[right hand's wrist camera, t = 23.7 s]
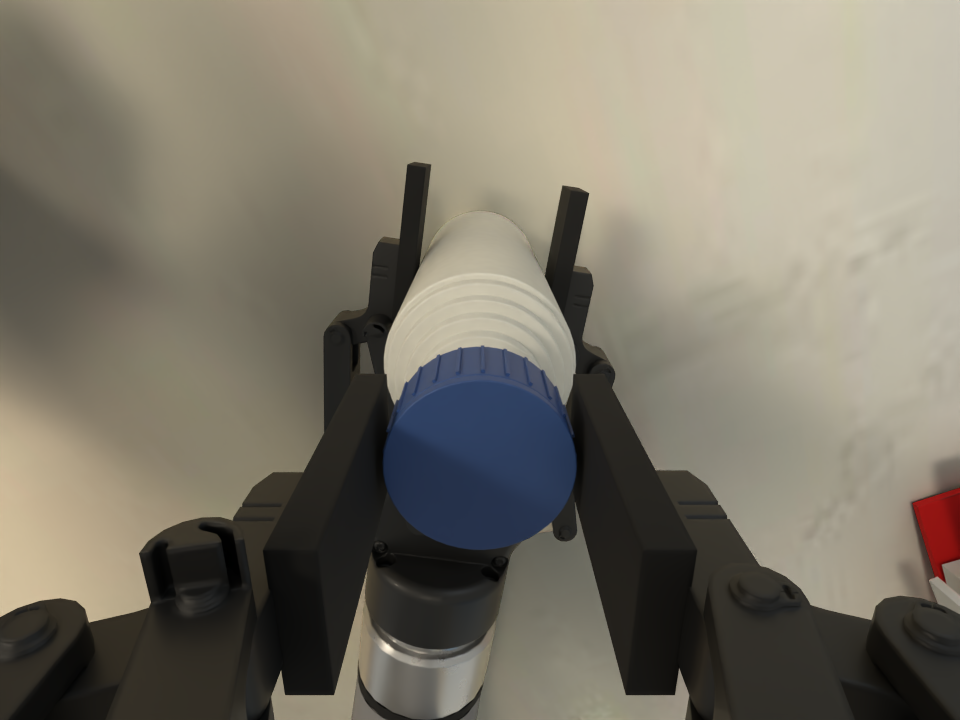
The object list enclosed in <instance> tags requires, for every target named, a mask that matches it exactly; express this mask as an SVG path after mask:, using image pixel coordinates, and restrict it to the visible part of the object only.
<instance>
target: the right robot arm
mask: <svg viewBox="0 0 960 720" xmlns="http://www.w3.org/2000/svg"><path fill="white" fill-rule="evenodd" d="M570 423H571V426H572V429H573V432H574V436H575V437H574V438H573V442H574V445H575V450H576V454H577V472H576V479H575V483H574V487H573V490H572V491H573V495H574V499H575V502H576V506H577V510H578V514H579V518H580V522H581V525H582V529H583V533H584V537H585V541H586V544H587V548H588V552H589V556H590V560H591V563H592V567H593V571H594V575H595V579H596V583H597V586H598V590H599V594H600V598H601V602H602V605H603V609H604V613H605V617H606V621H607V625H608V628H609V632H610V636H611V640H612V644H613V647H614V651H615V655H616V659H617V663H618V667H619V670H620V674H621V678H622V682H623V686H624V689H625V693H626V695H675V691H676V684H677V678H678V671H679V668H680V671H681V674H682V676H683V679H684V682H685V684H686V687H687V690H688V692H689V701H688V707H687V713H686V719H685V720H960V614H958V613H956V612H955V611H953V610H951V609H949V608H947V607H945V606H943V605H940V604H937V603H933V602H931V601H927V600H924V599H921V598H914V597H905V596H897V597H891V598H886V599H884V600H883V601H881V602H880V603H879V604H878V605H877V606H876V608H875V611H874V615H873V618H872V620H868V619H864V618H859V617H855V616H850V615H846V614H842V613H837V612H833V611H828V610H825V609H822V608H818V607H815V606H812V605H810V603H809V601H808V599H807V598H806V596H805V595H804V593H803V592H802V590H801V589H800V588H799V587H798V586H797V585H795V584H794V583H793V582H792V581H790V580H789V579H788V578H787V577H785V576H783V575H781V574H779V573H777V572H775V571H773V570H771V569H769V568H766V567H762V566H760V565H759V564H758V562H757V561H756V559H755V558H754V556H753V555H752V553H751V552H750V550H749V549H748V547H747V545H746V544H745V542H744V541H743V539H742V538H741V536H740V535H739V533H738V532H737V530H736V529H735V527H734V526H733V524H732V523H731V521H730V519H727V515H726V513H725V512H724V510H723V509H722V507H721V506H720V505H718V501H717V500H716V498H715V497H714V495H713V493H712V492H711V490H710V489H709V487H708V486H707V485H706V484H705V483H704V482H702V481H701V480H699V479H698V478H697V477H695V476H694V475H692V474H691V473H690V472H688V471H655V469H654V467H653V465H652V463H651V461H650V459H649V457H648V455H647V454H646V452H645V450H644V448H643V446H642V444H641V442H640V440H639V438H638V437H637V435H636V433H635V431H634V429H633V427H632V425H631V423H630V421H629V419H628V418H627V416H626V414H625V412H624V410H623V408H622V406H621V404H620V402H619V401H618V399H617V397H616V395H615V393H614V391H613V389H612V387H611V385H610V383H609V382H608V380H607V378H606V376H605V374H573V387H572V404H571V421H570ZM388 425H389V404H388V387H387V374H355V376H354V378H353V380H352V382H351V383H350V385H349V387H348V389H347V391H346V393H345V395H344V397H343V399H342V400H341V402H340V404H339V406H338V408H337V410H336V412H335V414H334V416H333V418H332V419H331V421H330V423H329V425H328V427H327V429H326V431H325V433H324V435H323V437H322V438H321V440H320V442H319V444H318V446H317V448H316V450H315V452H314V454H313V455H312V457H311V459H310V461H309V463H308V465H307V467H306V469H305V471H304V472H273V473H272V474H270V475H269V476H268V477H266V478H265V479H263V480H262V481H261V482H259V483H258V484H257V485H255V486H254V487H253V488H252V490H251V491H250V493H249V494H248V496H247V497H246V499H245V500H244V502H243V504H242V507H240V508H239V510H238V511H237V513H236V514H235V516H234V517H233V521H232V520H228V519H225V518H221V517H210V518H198V519H194V520H190V521H185V522H182V523H179V524H177V525H175V526H172V527H170V528H168V529H165V530H163V531H162V532H161V533H159V534H158V535H156V536H155V537H154V538H152V539H151V540H149V541H148V542H147V544H146V545H145V546H144V548H143V549H142V550H141V552H140V553H139V555H140V559H141V563H142V567H143V571H144V575H145V579H146V583H147V588H148V592H149V596H150V600H151V604H150V607H149V608H147V609H143V610H140V611H137V612H133V613H129V614H125V615H121V616H116V617H112V618H107V619H103V620H99V621H94V622H90V623H89V621H88V618H87V615H86V611H85V609H84V608H83V607H82V606H81V605H80V604H79V603H78V602H76V601H72V600H67V599H61V598H60V599H51V600H43V601H38V602H35V603H32V604H29V605H26V606H23V607H20V608H17V609H15V610H13V611H11V612H9V613H7V614H6V615H4V616H2V617H0V720H274V714H273V707H272V701H271V695H272V693H273V690H274V687H275V685H276V682H277V679H278V677H279V674H280V671H281V672H282V678H283V684H284V691H285V695H334V693H335V689H336V686H337V682H338V678H339V674H340V670H341V666H342V663H343V659H344V655H345V651H346V647H347V644H348V640H349V636H350V632H351V628H352V625H353V621H354V617H355V613H356V609H357V605H358V602H359V598H360V594H361V590H362V586H363V583H364V579H365V575H366V571H367V567H368V563H369V560H370V556H371V552H372V548H373V544H374V541H375V537H376V533H377V529H378V525H379V521H380V518H381V514H382V510H383V506H384V502H385V499H386V495H387V488H386V485H385V481H384V476H383V448H384V445H385V441H386V438H387V435H388V432H386V431H387V428H388Z"/></svg>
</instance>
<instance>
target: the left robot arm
mask: <svg viewBox="0 0 960 720" xmlns="http://www.w3.org/2000/svg"><path fill="white" fill-rule="evenodd" d="M430 171H431V165H430V164H424V163H418V162H413V163H410V164H408V165H407V174H406V183H405V193H404V203H403V213H402V222H401V232H400V239H395V238H389V237H383V238H382V239H381V240H380V241H379V242H378V244H377V246H376V248H375V250H374V252H373V260H372V271H371V282H370V294H369V304H368V307H367V308H365V309H362V310H357V311H349V310H347V311H342V312H341V313H339V314H338V316H337V317H336V318H335V319H334V320H333V322H332V323H331V324H330V325H329V327H328V328H327V329H326V331H325V332H324V433H325V431H326V429H327V427H328V425H329V423H330V421H331V419H332V418H333V416H334V414H335V412H336V410H337V408H338V406H339V404H340V402H341V400H342V399H343V397H344V395H345V393H346V391H347V389H348V387H349V385H350V383H351V382H352V380H353V378H354V376H355V374H360V343H364V342H367V343H368V347H369V351H370V355H371V360H372V364H373V368H374V372H375V374H385V372H384V352H385V345H386V341H387V338H388V334H389V332H390V329H391V327H392V325H393V323H394V320H395V318H396V316H397V314H398V312H399V310H400V308H401V305H402V303H403V301H404V299H405V297H406V295H407V293H408V291H409V288H410V286H411V284H412V282H413V280H414V278H415V276H416V273H417V271H418V269H419V265H420V257H421V248H422V239H423V231H424V222H425V214H426V205H427V196H428V188H429V179H430ZM588 196H589V193H588V192H586V191H584V190H582V189H580V188H575V187H569V186H563V185H562V191H561V196H560V201H559V206H558V211H557V216H556V222H555V227H554V232H553V237H552V242H551V248H550V253H549V258H548V263H547V268H546V273H545V278H546V280H547V283H548V285H549V287H550V289H551V291H552V293H553V295H554V298H555V300H556V302H557V304H558V306H559V308H560V310H561V313H562V315H563V317H564V319H565V321H566V323H567V325H568V328H569V330H570V333H571V336H572V339H573V342H574V348H575V353H576V369H575V373H576V374H605V376H606V378H607V380H608V382H609V383H610V385H611V387H612V385H613V382H614V379H615V371H614V369H613V367H612V365H611V364H610V362H609V360H608V358H607V357H606V355H605V353H604V352H603V350H602V349H601V348H599V347H596V346H591V345H589V344H587V343H585V342H584V341H583V340H582V335H583V331H584V326H585V322H586V317H587V313H588V307H589V304H590V298H591V295H592V290H593V280H592V274H591V273H590V272H589V270H588V269H587V268H585V267H579V266H574V263H575V258H576V254H577V249H578V244H579V239H580V235H581V230H582V225H583V220H584V216H585V211H586V206H587V201H588ZM387 387H388V386H387ZM572 387H573V385H572ZM388 404H389V421H390V418H391V415H392V412H393V409H394V406H395V405H394V402H393V400H392V398H391V395H390V392H389V389H388ZM571 404H572V389H571V391H570V394H569V398H568V401H567V405H566V410H567V413H568V417H569V420H570V421H571ZM550 531H553V533H554V536H555V537H556V538H557V539H558V540H560V541H570V540H572V539H573V538H574V537H575V536H576V534H577V524H576V513H575V499H574V495H573V491H572V492H571V495H570V497H569V499H568V501H567V503H566V504H565V506H564V508H563V509H562V511H561V512H560V513H559V514H558V516H557V517H556V518H555V519H554V520H553V521H552V522H551V523H550V524H549V525H548V526H546V527H545V528H544V529H543V530H541V531H540V532H539V533H541V532H550ZM520 543H521V542H519V543H516V544H513V545H510V546H507V547H501V548H496V549H486V550H473V549H464V548H458V547H454V546H450V545H446V544H444V543H441V542H438V541H436V540H434V539H432V538H430V537H428V536H426V535H424V534H423V533H421V532H420V531H418V530H417V529H416V528H414V527H413V526H412V525H411V524H410V523H409V522H407V520H406V519H405V518H404V517H403V516H402V515H401V514H400V513H399V511H398V510H397V508H396V507H395V505H394V504H393V502H392V500H391V498H390V496H389V494H388V491H387V495H386V499H385V502H384V506H383V510H382V514H381V518H380V521H379V525H378V529H377V533H376V537H375V541H374V544H373V548H372V552H371V556H370V560H369V563H368V570H367V579H366V589H365V600H366V601H365V604H364V608H363V616H362V627H361V637H360V648H359V660H358V676H357V684H356V691H355V698H354V705H353V712H352V719H351V720H476V718H477V712H478V706H479V700H480V694H481V690H482V687H483V682H484V678H485V674H486V671H487V666H488V661H489V657H490V652H491V647H492V642H493V638H494V633H495V626H496V618H497V615H498V612H499V607H500V602H501V598H502V593H503V588H504V583H505V578H506V574H507V569H508V564H509V559H510V556H511V554H512V552H513V550H514V549H515V548H516V547H517V546H518V545H519V544H520Z"/></svg>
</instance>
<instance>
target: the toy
mask: <svg viewBox="0 0 960 720" xmlns="http://www.w3.org/2000/svg"><path fill="white" fill-rule="evenodd" d="M912 504H913V507H914V511H915V514H916V517H917V520H918V524H919V527H920V530H921V533H922V537H923V540H924V543H925V546H926V549H927V553H928V556H929V559H930V562H931V566H932V569H933V572H934V575H935V578H932V579H930V580H929V582H930V585H931V587H932V590H933V592H934V595H935V598H936V600H937V603H938V604H940V605H943V606H945V607H947V608H949V609H951V610H953V611H955V612H956V613H958V614H960V488H957V489H954V490H951V491H948V492H945V493H942V494H939V495H935V496H932V497H929V498H926V499H923V500H920V501H917V502H914V503H912Z"/></svg>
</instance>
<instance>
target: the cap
mask: <svg viewBox="0 0 960 720" xmlns="http://www.w3.org/2000/svg"><path fill="white" fill-rule="evenodd" d="M386 432H388V435H387V438H386V441H385V445H384V448H383V476H384V481H385V485H386V488H387V491H388V494H389V496H390V498H391V500H392V502H393V504H394V505H395V507H396V508H397V510H398V511H399V513H400V514H401V515H402V516H403V517H404V518H405V519H406V520H407V522H409V523H410V524H411V525H412V526H413V527H414V528H416V529H417V530H418V531H420V532H421V533H423V534H424V535H426V536H428V537H430V538H432V539H434V540H436V541H438V542H441V543H444V544H446V545H450V546H454V547H458V548H464V549H473V550H486V549H496V548H501V547H507V546H510V545H513V544H516V543H519V542H521V541H524V540H526V539H528V538H530V537H532V536H533V535H535V534H537V533H539V532H540V531H541V530H543V529H544V528H545V527H546V526H548V525H549V524H550V523H551V522H552V521H553V520H554V519H555V518H556V517H557V516H558V514H559V513H560V512H561V511H562V509H563V508H564V506H565V504H566V503H567V501H568V499H569V497H570V495H571V492H572V490H573V487H574V483H575V479H576V472H577V454H576V450H575V445H574V442H573V438H574V437H575V436H574V432H573V429H572V426H571V423H570V420H569V417H568V413H567V410H566V407H565V404H564V405H563V403H562V400H561V397H560V394H559V390H558V388H557V386H555V387H554V385H553V384H552V382H551V381H550V380H549V378H548V377H547V376H546V373H545V371H544V370H540V369H539V368H538V367H537V366H536V365H534V364H533V363H532V362H530V361H529V360H528V358H527V357H524V358H523V357H522V356H520V355H517V354H515V353H513V352H510V351H507V349H499V348H492V347H484V345H481V347H467V348H462V347H459V348H458V349H457V350H453V351H450V352H447V353H445V354H442V355H440V354H439V355H437V357H436V358H434V359H433V360H431V361H430V362H428V363H427V364H425V365H424V366H423V367H422V366H420V367H419V368H418V371H417V372H416V373H415V374H414V375H413V377H412V378H411V379H410V380H409V382H407V381H406V382H405V384H404V387H403V390H402V394H401V396H400V399H399V400H396V403H395V406H394V409H393V412H392V415H391V418H390V421H389V425H388V428H387V431H386Z"/></svg>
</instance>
